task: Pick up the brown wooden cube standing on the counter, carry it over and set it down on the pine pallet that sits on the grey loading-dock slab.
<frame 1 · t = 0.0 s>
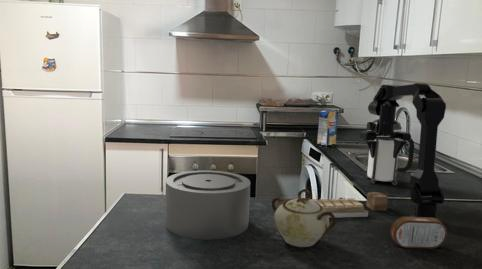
hand: (383, 157, 163), 15 cm above the countertop, tool pointing down, fingers open, 9 cm apart
dock: (335, 212, 141), on the countertop
tin: (417, 247, 116), on the countertop
sugar bowl: (300, 241, 117), on the countertop
beverage box: (326, 146, 268), on the countertop
coffee press: (383, 181, 185), on the countertop
container: (207, 223, 127), on the countertop
pallet: (335, 208, 141), resting on dock
brown wooden cube: (376, 208, 148), on the countertop
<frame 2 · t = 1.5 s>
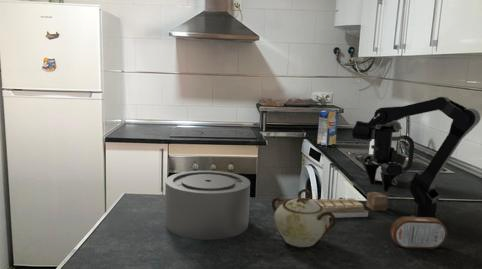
hand: (378, 187, 147), 7 cm above the countertop, tool pointing down, fingers open, 9 cm apart
nothing on the countertop moved.
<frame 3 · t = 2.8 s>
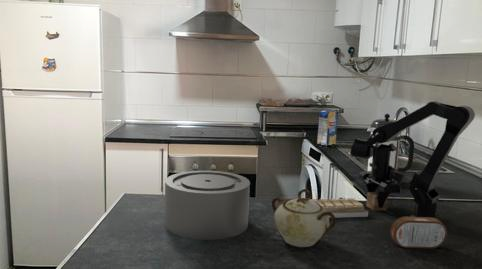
hand: (376, 205, 148), 1 cm above the countertop, tool pointing down, fingers closed on brown wooden cube, 5 cm apart
brown wooden cube: (376, 208, 148), on the countertop, touching gripper
everything else where it was.
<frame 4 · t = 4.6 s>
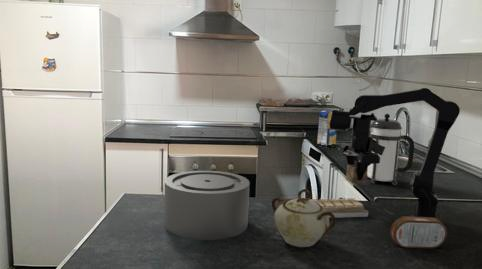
hand: (356, 177, 143), 11 cm above the countertop, tool pointing down, fingers closed on brown wooden cube, 5 cm apart
brown wooden cube: (355, 180, 143), point 10 cm above the countertop, touching gripper
everything else where it was.
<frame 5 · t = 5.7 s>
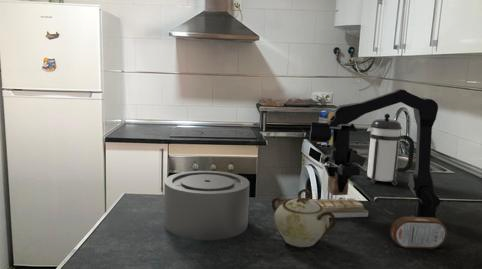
hand: (337, 189, 140), 8 cm above the countertop, tool pointing down, fingers closed on brown wooden cube, 5 cm apart
brown wooden cube: (337, 192, 140), point 7 cm above the countertop, touching gripper
everything else where it was.
when the fingers open (6 cm above the countertop, at t = 6.5 s): brown wooden cube stays where it is, resting on pallet.
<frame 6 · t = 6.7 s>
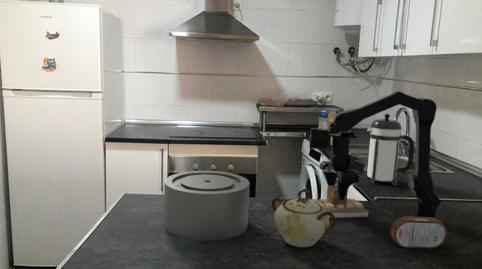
hand: (336, 196, 141), 6 cm above the countertop, tool pointing down, fingers open, 7 cm apart
brown wooden cube: (336, 202, 141), point 4 cm above the countertop, touching pallet
everything else where it was.
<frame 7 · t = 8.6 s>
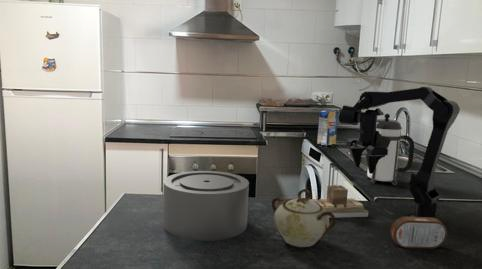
hand: (364, 170, 151), 12 cm above the countertop, tool pointing down, fingers open, 9 cm apart
nothing on the countertop moved.
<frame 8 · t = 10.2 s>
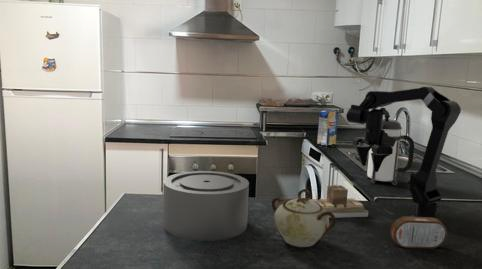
hand: (369, 168, 153), 12 cm above the countertop, tool pointing down, fingers open, 9 cm apart
nothing on the countertop moved.
at the end: brown wooden cube 0.0 cm from the pallet (horizontally); brown wooden cube point 3.7 cm above the countertop; brown wooden cube touching pallet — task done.
